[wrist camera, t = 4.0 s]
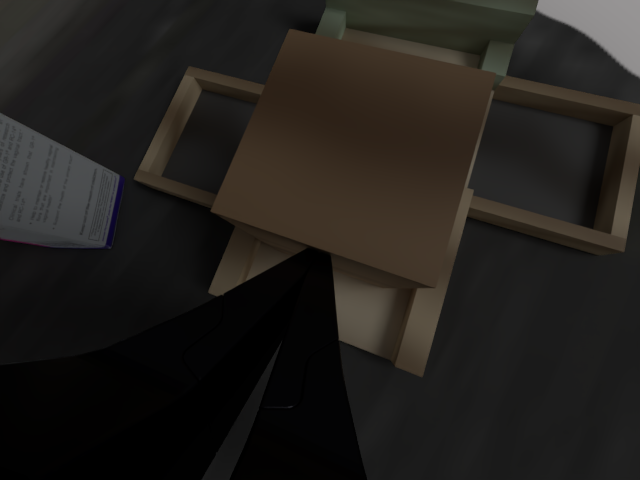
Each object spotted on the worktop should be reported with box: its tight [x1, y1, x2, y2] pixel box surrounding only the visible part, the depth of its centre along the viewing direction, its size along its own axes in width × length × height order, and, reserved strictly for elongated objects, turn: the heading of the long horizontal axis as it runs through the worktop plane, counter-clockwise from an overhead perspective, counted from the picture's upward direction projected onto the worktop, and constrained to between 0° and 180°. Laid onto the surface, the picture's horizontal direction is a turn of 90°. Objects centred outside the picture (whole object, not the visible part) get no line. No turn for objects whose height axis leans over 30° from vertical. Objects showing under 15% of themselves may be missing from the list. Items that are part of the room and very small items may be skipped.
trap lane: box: [134, 0, 640, 377], centre depth 16 cm, size 23×31×4 cm
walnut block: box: [211, 29, 496, 288], centre depth 12 cm, size 7×7×9 cm
